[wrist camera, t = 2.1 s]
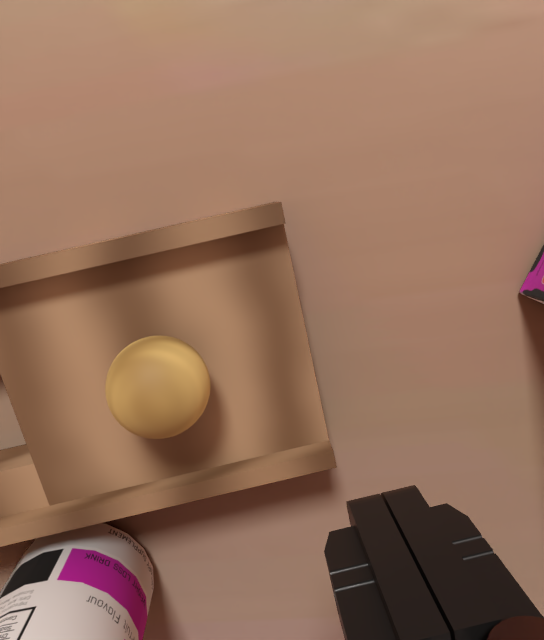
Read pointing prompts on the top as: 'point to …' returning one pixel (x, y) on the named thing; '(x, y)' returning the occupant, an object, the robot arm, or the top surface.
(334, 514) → the top surface
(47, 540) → the supplement can
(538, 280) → the candy bar box
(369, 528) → the robot arm
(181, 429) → the ball
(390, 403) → the top surface
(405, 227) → the top surface
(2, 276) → the wooden slide tray
